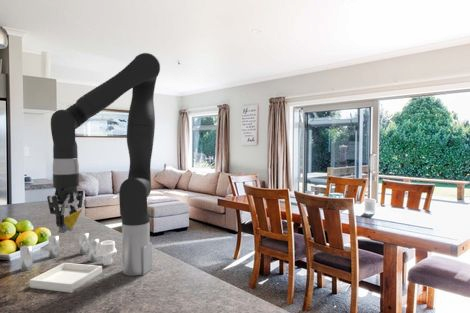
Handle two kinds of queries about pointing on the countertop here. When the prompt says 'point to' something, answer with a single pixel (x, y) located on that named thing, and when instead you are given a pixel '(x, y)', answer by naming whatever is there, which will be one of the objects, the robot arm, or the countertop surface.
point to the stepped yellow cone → (69, 222)
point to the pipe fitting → (107, 251)
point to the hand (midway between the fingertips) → (67, 224)
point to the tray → (66, 277)
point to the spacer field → (84, 248)
